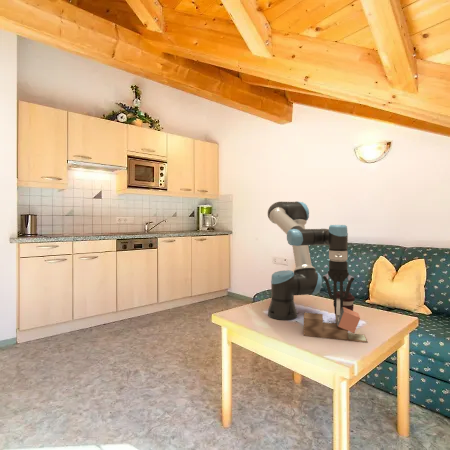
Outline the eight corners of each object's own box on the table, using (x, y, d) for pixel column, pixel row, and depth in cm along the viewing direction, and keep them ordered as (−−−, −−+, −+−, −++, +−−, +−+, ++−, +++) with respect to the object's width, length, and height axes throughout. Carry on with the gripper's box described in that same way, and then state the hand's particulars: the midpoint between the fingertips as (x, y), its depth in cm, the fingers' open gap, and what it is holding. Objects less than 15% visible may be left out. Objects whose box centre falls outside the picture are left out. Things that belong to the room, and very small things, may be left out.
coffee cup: (352, 320, 148) (352, 290, 148) (356, 327, 138) (356, 295, 138) (331, 319, 150) (331, 289, 150) (334, 325, 141) (334, 294, 140)
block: (343, 311, 124) (360, 318, 122) (342, 306, 131) (358, 313, 129) (337, 326, 125) (354, 333, 123) (336, 320, 131) (352, 327, 129)
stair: (303, 335, 129) (303, 317, 129) (304, 329, 136) (304, 312, 136) (367, 342, 121) (367, 323, 121) (364, 335, 129) (364, 317, 129)
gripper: (322, 260, 126) (322, 315, 126) (355, 261, 122) (355, 318, 122) (322, 258, 133) (322, 310, 134) (353, 259, 129) (353, 313, 129)
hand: (338, 314), depth 128 cm, fingers closed
